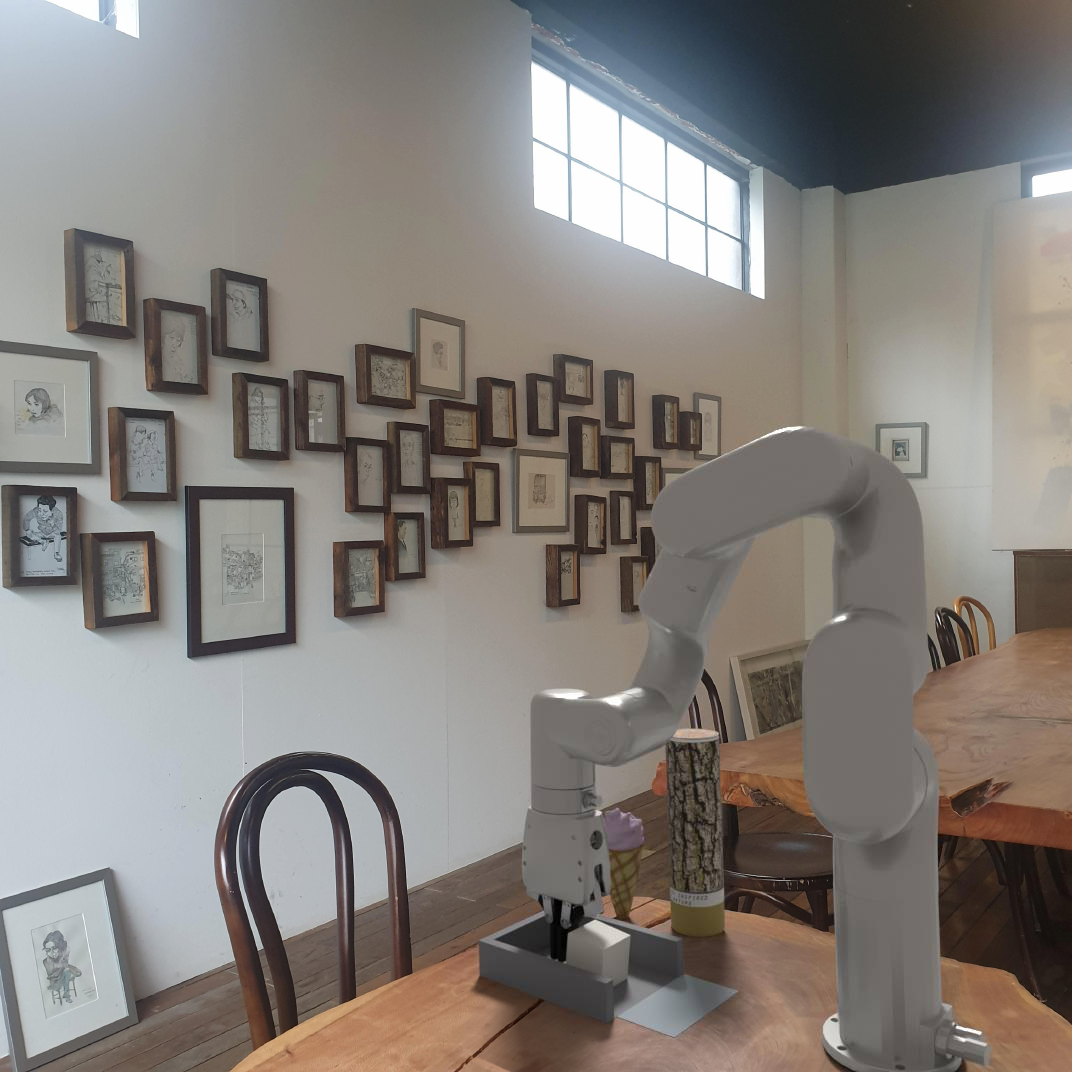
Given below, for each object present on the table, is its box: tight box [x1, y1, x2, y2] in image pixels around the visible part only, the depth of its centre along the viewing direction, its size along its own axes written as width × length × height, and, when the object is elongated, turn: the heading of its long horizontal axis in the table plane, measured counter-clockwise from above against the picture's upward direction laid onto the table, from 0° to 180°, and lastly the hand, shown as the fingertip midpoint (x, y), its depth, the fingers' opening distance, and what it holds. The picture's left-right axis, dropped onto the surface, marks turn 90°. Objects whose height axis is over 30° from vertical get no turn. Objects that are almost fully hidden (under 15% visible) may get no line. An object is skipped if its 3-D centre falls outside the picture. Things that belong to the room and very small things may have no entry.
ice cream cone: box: [603, 807, 645, 920], centre depth 128 cm, size 7×6×15 cm
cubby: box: [478, 907, 740, 1039], centre depth 108 cm, size 25×14×4 cm, turn 49°
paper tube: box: [664, 728, 726, 938], centre depth 123 cm, size 7×7×25 cm
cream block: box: [566, 920, 631, 987], centre depth 108 cm, size 5×5×5 cm
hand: (564, 956), depth 112 cm, fingers closed
